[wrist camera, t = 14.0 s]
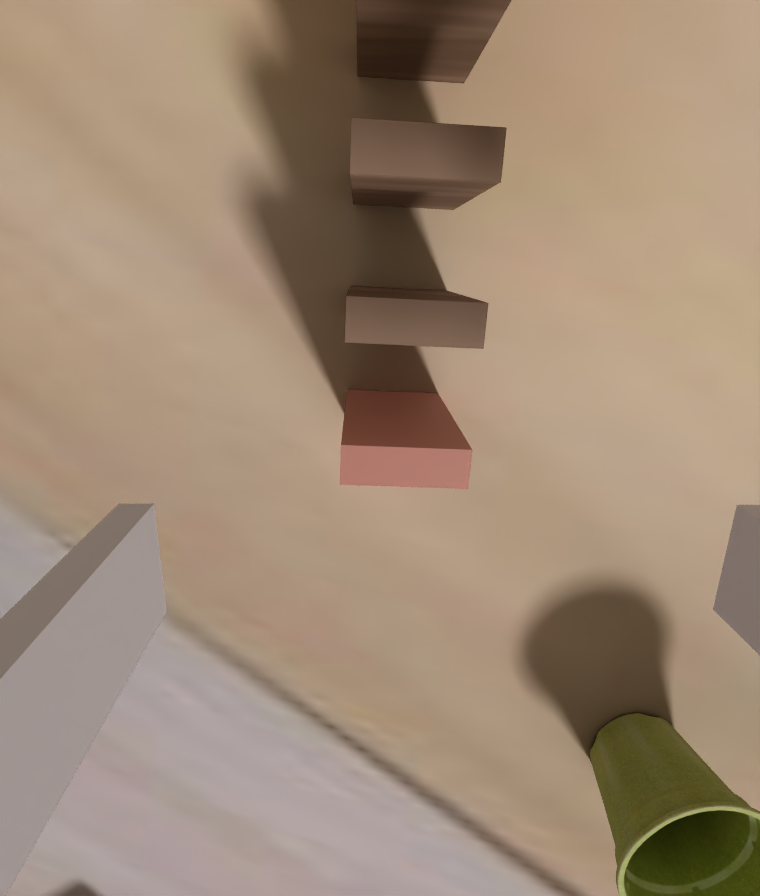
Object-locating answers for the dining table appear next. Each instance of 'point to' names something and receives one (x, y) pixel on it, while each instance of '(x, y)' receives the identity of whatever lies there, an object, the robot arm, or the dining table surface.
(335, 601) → the dining table surface
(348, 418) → the domino
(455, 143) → the domino
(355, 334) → the domino
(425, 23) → the domino
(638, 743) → the plant pot
